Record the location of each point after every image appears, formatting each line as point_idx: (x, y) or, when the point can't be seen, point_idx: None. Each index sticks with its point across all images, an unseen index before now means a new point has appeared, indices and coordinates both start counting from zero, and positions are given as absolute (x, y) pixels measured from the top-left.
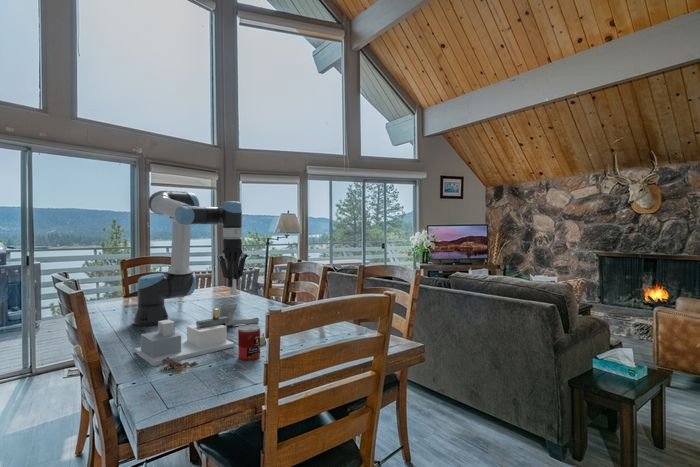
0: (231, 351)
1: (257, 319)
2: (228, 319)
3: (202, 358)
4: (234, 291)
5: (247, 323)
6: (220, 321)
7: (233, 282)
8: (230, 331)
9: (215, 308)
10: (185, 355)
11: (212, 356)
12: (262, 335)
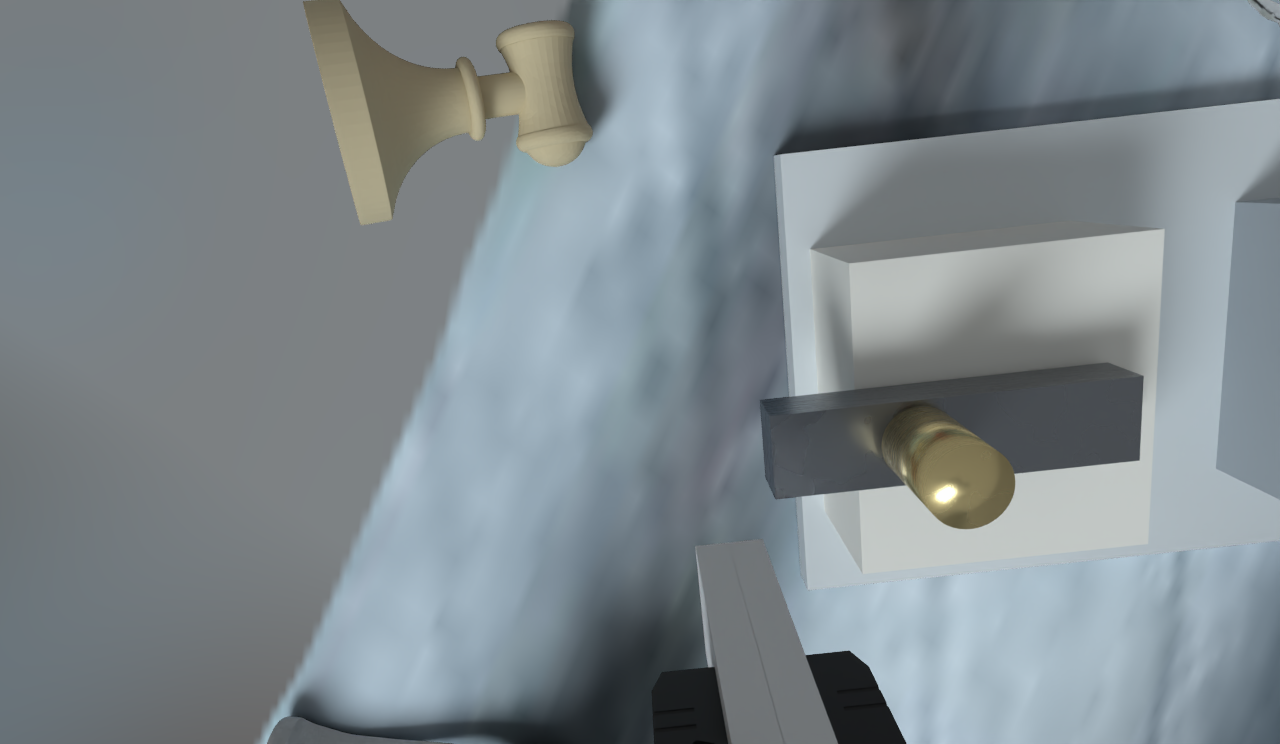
0: (847, 38)
1: (282, 741)
2: (773, 408)
3: (1117, 14)
4: (742, 574)
5: (390, 738)
6: (874, 395)
7: (805, 693)
8: (606, 616)
9: (957, 526)
10: (1236, 104)
11: (1032, 11)
12: (484, 134)
